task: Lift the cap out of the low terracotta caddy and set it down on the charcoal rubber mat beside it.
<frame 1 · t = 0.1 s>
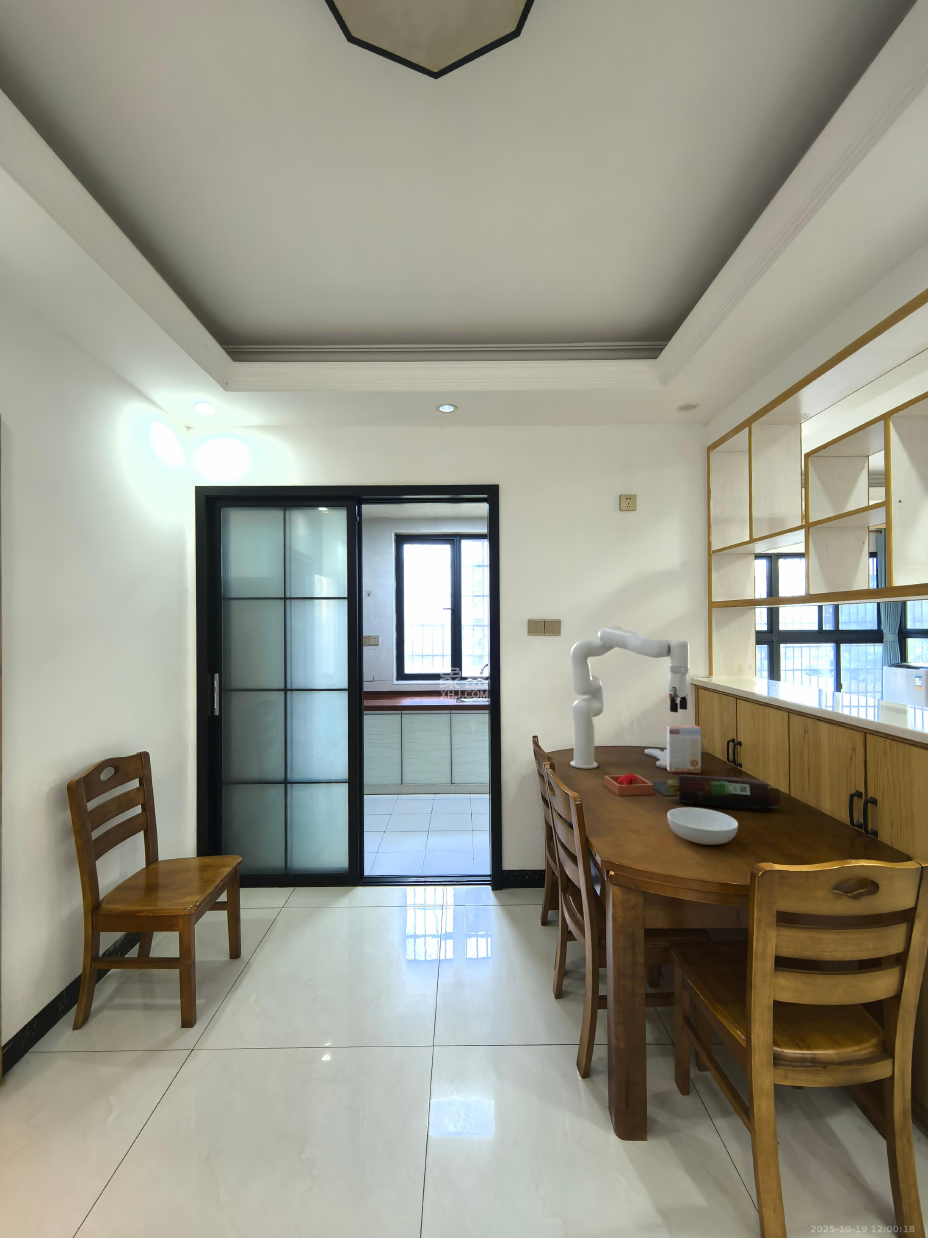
hand: (678, 710, 248), 31 cm above the table, tool pointing down, fingers open, 9 cm apart
cap: (628, 789, 241), resting in caddy
cracker box: (683, 772, 270), on the table
holder: (670, 761, 290), on the table
packaged item: (721, 805, 222), on the table
mat: (670, 789, 242), on the table
serving bowl: (701, 840, 187), on the table
caddy: (628, 789, 241), on the table
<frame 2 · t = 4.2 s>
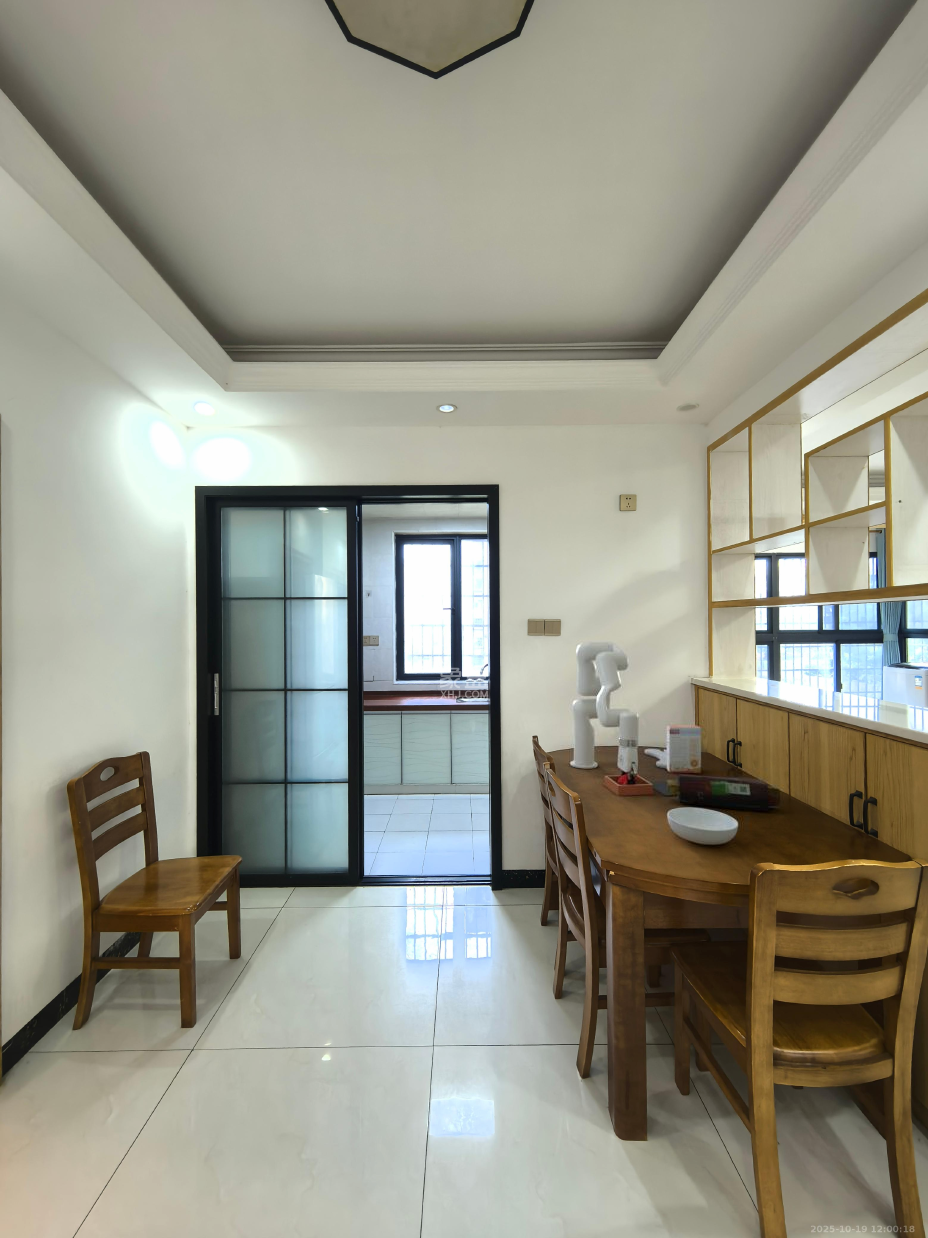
hand: (627, 786, 241), 1 cm above the table, tool pointing down, fingers closed on cap, 5 cm apart
cap: (628, 789, 241), resting in caddy, touching gripper
everything else where it was.
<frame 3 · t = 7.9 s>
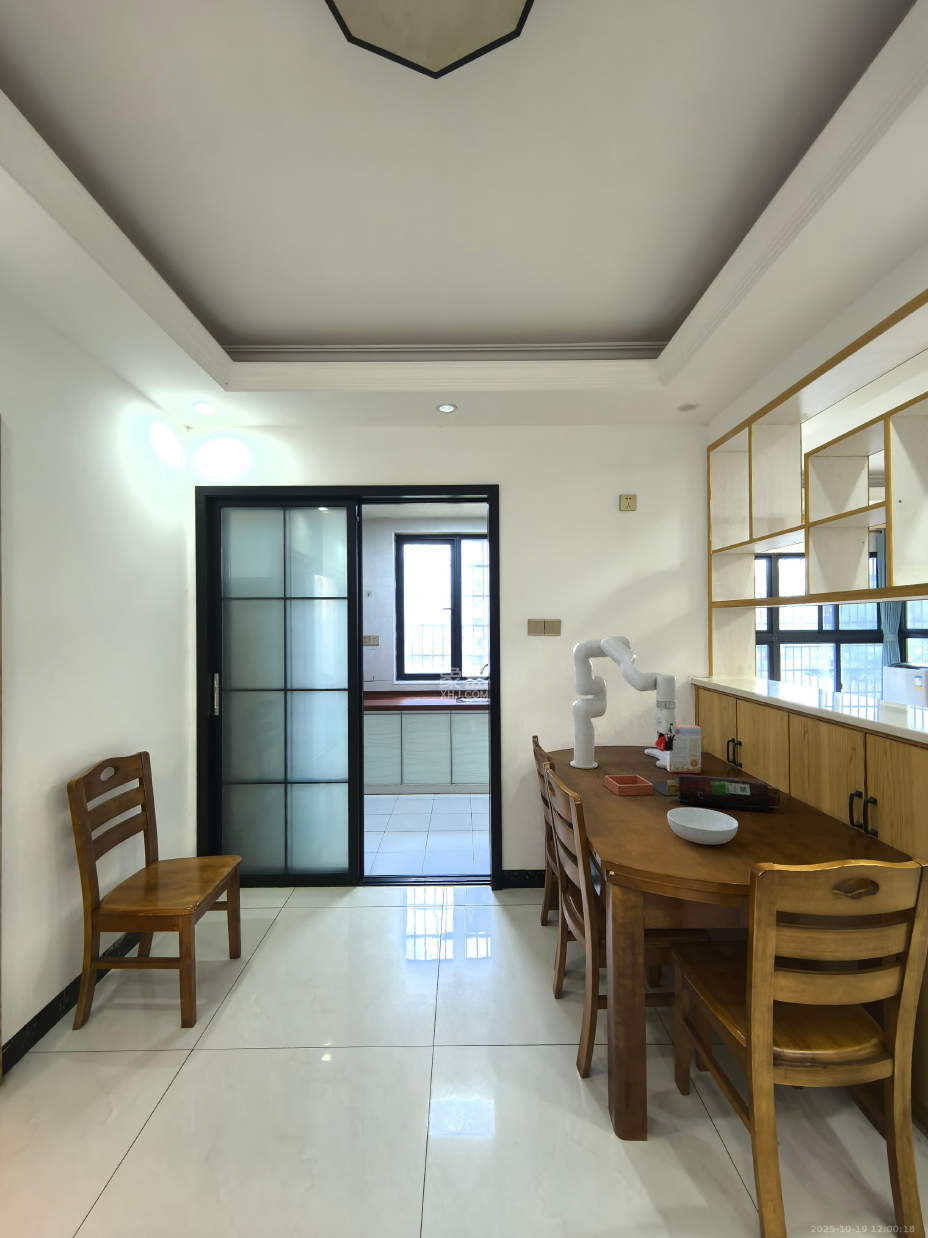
hand: (665, 748, 242), 17 cm above the table, tool pointing down, fingers closed on cap, 5 cm apart
cap: (665, 751, 242), point 16 cm above the table, touching gripper
everything else where it was.
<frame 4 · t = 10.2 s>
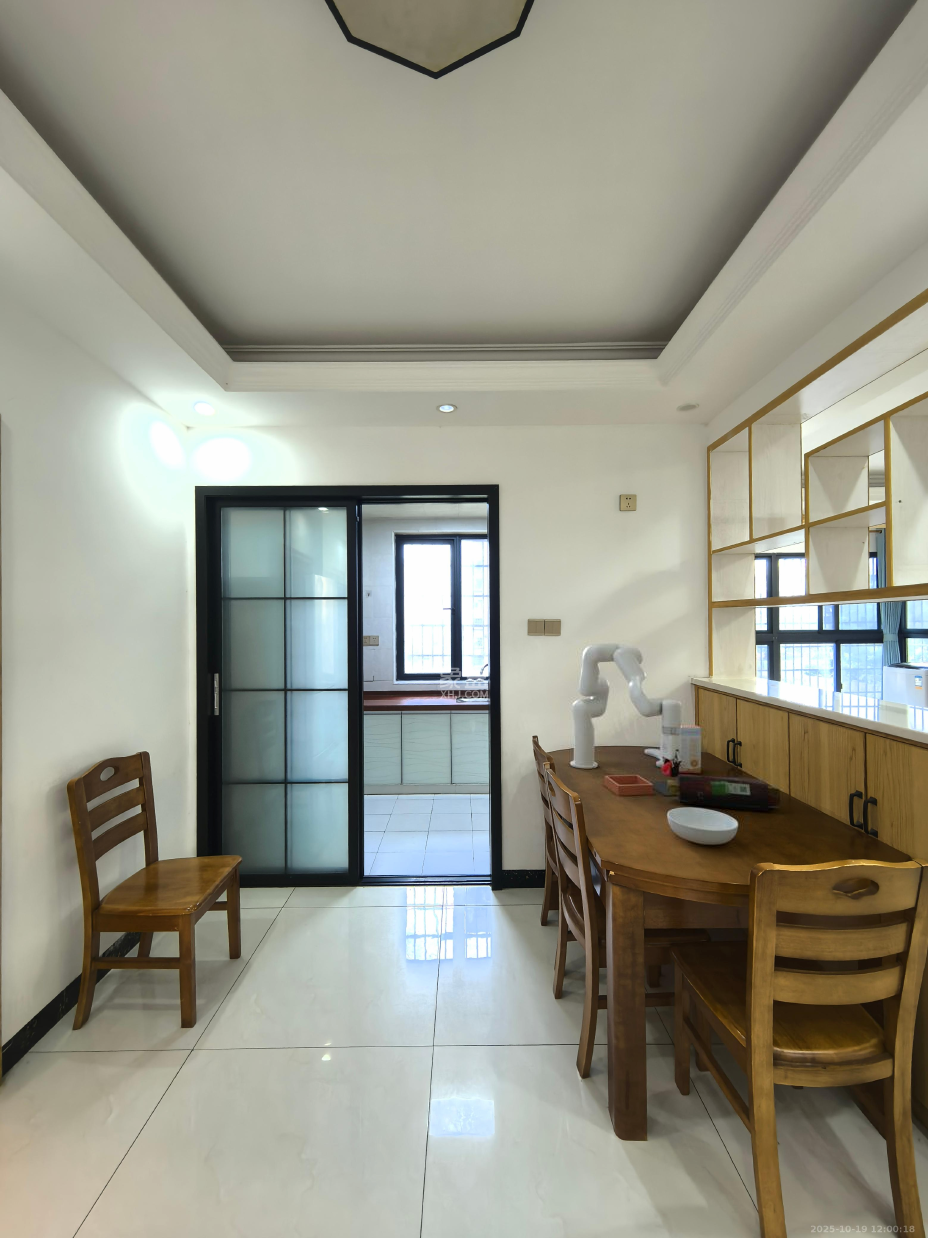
hand: (671, 774, 242), 6 cm above the table, tool pointing down, fingers closed on cap, 5 cm apart
cap: (671, 776, 242), point 5 cm above the table, touching gripper
everything else where it was.
when the fingers open (1 cm above the table, at t = 11.9 s): cap stays where it is, resting on mat.
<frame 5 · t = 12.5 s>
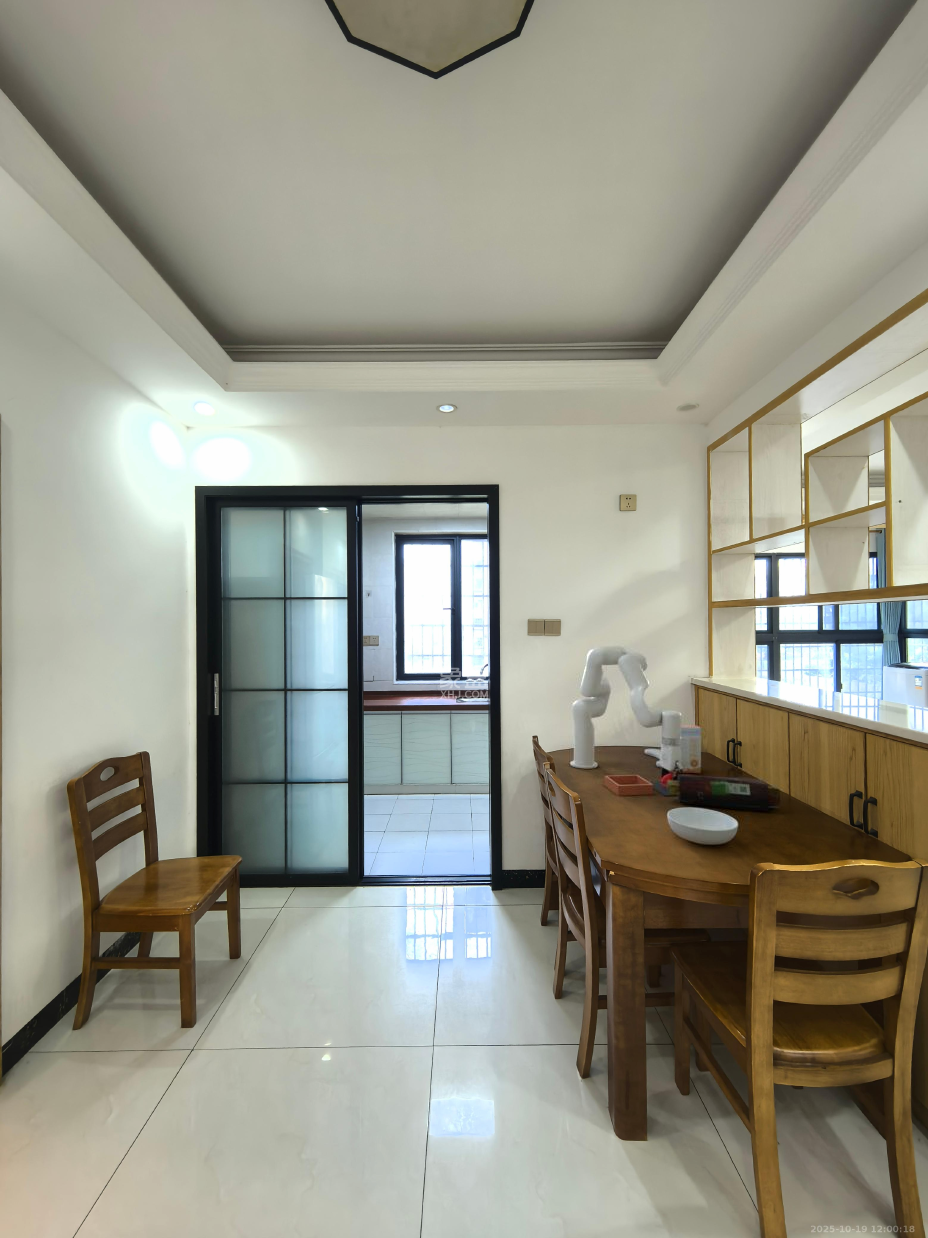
hand: (670, 783, 242), 2 cm above the table, tool pointing down, fingers open, 9 cm apart
cap: (671, 788, 242), resting on mat
everything else where it was.
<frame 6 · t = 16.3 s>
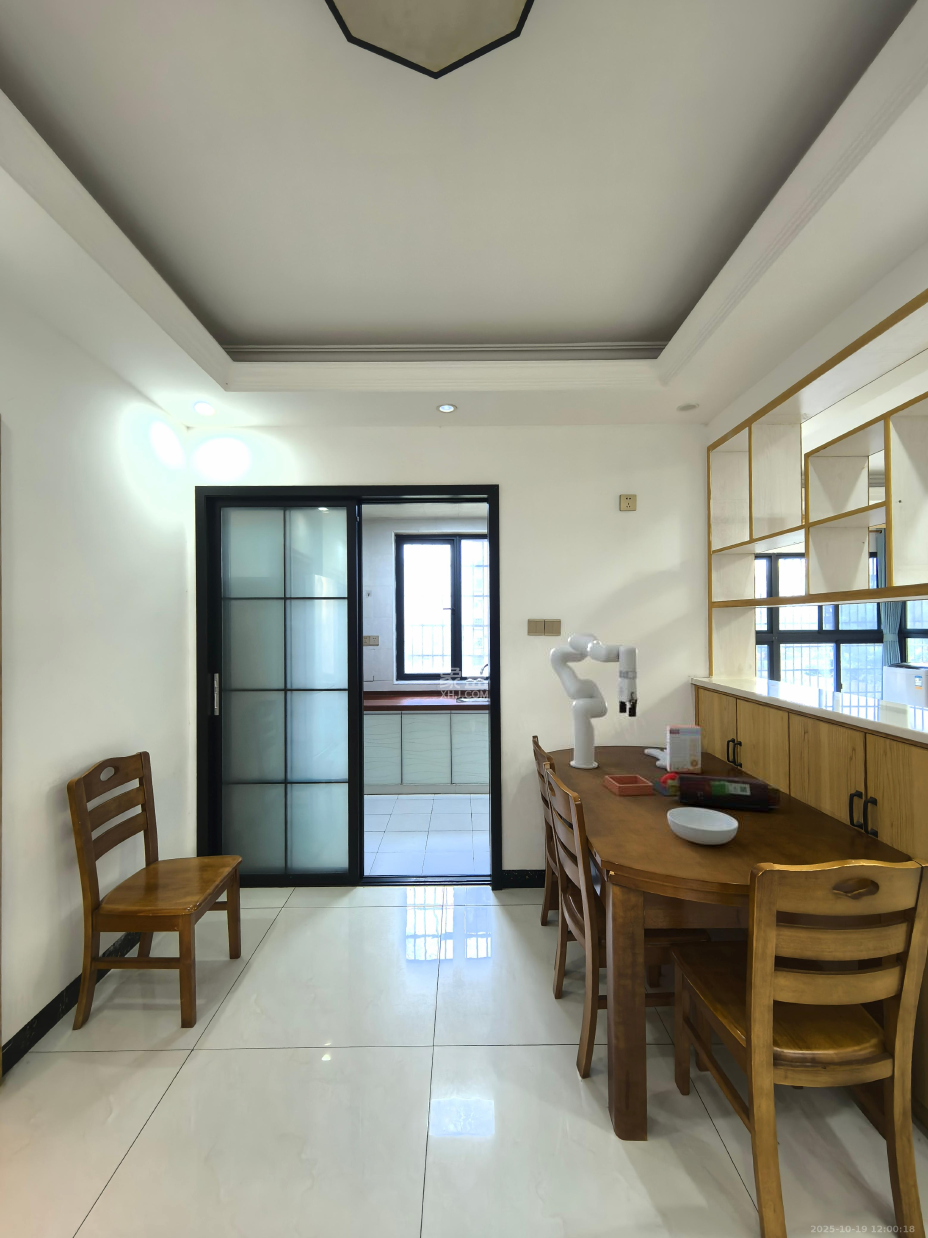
hand: (627, 714, 254), 28 cm above the table, tool pointing down, fingers open, 9 cm apart
nothing on the table moved.
at the end: cap inside the target area on the mat (0.3 cm from its centre), point 0.2 cm above the mat's base; cap touching mat; the gripper is holding nothing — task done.
